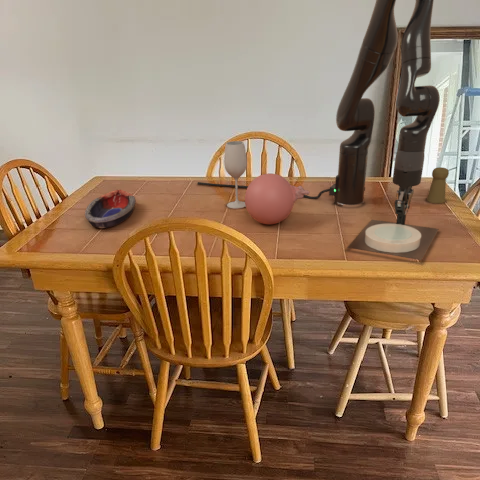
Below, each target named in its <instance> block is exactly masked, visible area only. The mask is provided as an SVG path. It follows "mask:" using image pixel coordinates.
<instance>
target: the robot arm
mask: <svg viewBox="0 0 480 480" xmlns="http://www.w3.org/2000/svg"><path fill="white" fill-rule="evenodd" d="M434 2H435V1H434V0H415V2H414V3H415V4H414V7H413V11H412V14H411V16H410V19H409V20H408V22H407V25H406V27H405V29H404V32H403V35H402V38H401V44H400V56H401V58H400V59H401V75H400V78H399V79H400V80H399V86H398V90H397V95H396V101H395V107H396V111H397V113H398V114H399V115H400V116H401V117H404V118H409V117H416V118H414V121H412V123H411V122H410V123H408V124H406V125H403V126H402V127H401V128H400V130H399V134H398V141H397V142H398V143H397V149H396V153H395V157H394V165H393V166H394V167H393V174H392V184H394V185H397V186H398V187H399V188H398V190H396V194H395V197H396V199H395V200H394V202H393V203H394V212H395V213H394V214H395V215H396V222H395V223H396V224H400V225H405V224H406V221H407V214H408V212H409V209H410V207H411V204H412V198H413V194H414V192H415V190H414V189H413V187H417V186H419V185H420V184H421V183H422V177H423V171H424V170H423V169H424V163H425V150H426V143H427V137H428V133H429V130H430V128H431V125H432V123H433V120H434V118H435V117H436V113H437V111H438V109H439V106H440V100H441V99H440V97H441V96H440V92H439V90H438V88H437V87H436V86H434V85H430V84H429V85H418V86H417V85H415V84H416V80H417V79H419V78H422V77H424V76H426V75H428V74H429V73H430V72H431V69H432V49H431V48H432V47H431V46H432V45H431V28H432V27H431V25H432V18H433V8H434ZM396 3H397V0H375V3H374V6H373V10H372V13H371V17H370V19H369V23H368V25H367V28H366V31H365V34H364V37H363V39H362V42H361V46H360V48H359V52H358V54H357V57H356V62H355V64H354V67H353V70H352V72H351V75H350V78H349V81H348V83H347V85H346V87H345V90H344V92H343V94H342V96H341V99H340V101H339V104H338V107H337V111H336V114H335V123H336V126H337V128H338V130H340V131H342V132H353V133H352V134H351V135H350V136H349V137H348V138H347V139H344V140H343V141H341V142H340V144H339V152H338V153H339V154H338V166H337V167H338V168H337V175H336V176H335V181H334V183H333V184H332V185H331V186H329V187H328V188H327V189H323V190H321V191H319V192H318V194H317V195H316V196H311V195H307V194H306V195H304V196H303V198H305V199H310V200H318V199H319V198H321V196H322V195H323V194H325V193H328V196H331V197H334V199H333V204H334V205H338V206H339V207H343V206H357V205H361V204H364V203H365V202H364V201H365V200H364V199H365V192H366V179H367V169H368V168H367V167H368V157H369V148H370V145H371V144H372V143H371V142H372V137H373V131H374V124H375V118H376V117H375V115H376V110H375V105H374V102H373V101H372V99H370V98H368V97H363V96H364V95H365V94H366V92H367V91H368V89H369V88H370V87H371V86H372V85H373V84H374V83H375V82H376V81H377V80H378V79H379V78H380V77H381V76H382V75H383V74H384V73H385V71H386V70H387V69H388V67H389V66H390V63H391V61H392V59H393V57H394V54H395V51H396V49H397V45H398V41H399V35H398V28H397V27H398V26H397V22H396V17H395V5H396ZM197 185H200V186H209V187H210V186H211V187H221V188H222V187H223V188H235V189H236V187H235V184H225V183H224V184H223V183H214V182H213V183H212V182H203V181H198V182H197ZM237 185H238V189H247V188H248V186H249V185H239V184H237Z"/></svg>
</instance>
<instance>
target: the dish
mask: <svg viewBox="0 0 480 480" xmlns="http://www.w3.org/2000/svg"><path fill="white" fill-rule="evenodd" d="M135 206H136V197H135V196H134V195H133V194H132V193H130V192H128V191H126V190H123V189H116V190H113V191H110V192H107V193H104V194H102V195H99V196H98V197H96V198H94V199H93V200H92V201H91V202H90V203H89V204H88V205H87V206H86V208H85V210H84V211H85V212H84V217H85V219H86V220H87V222H88V223H89V224H90V225H91V227H94V228H95V229H96V228H97V229H105V228H106V229H107V228H111V227H114V226H118V225H119V224H121V223H122V222H125V221H126V220H127V219H128V218H129V217H130V216H131V215H132V214H133V213H134V210H135Z"/></svg>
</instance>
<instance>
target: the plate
mask: <svg viewBox="0 0 480 480" xmlns="http://www.w3.org/2000/svg"><path fill="white" fill-rule="evenodd" d="M420 241H421V233H420V232H419V231H418V230H416V229H415V228H412V227H409V226H406V225H400V224H378V225H374V226H371V227H369V228H367V229H366V232H365V243H366V244H367V245H368V246H369V247H371V248H373V249H376V250H379V251H384V252H391V253H402V252H409V251H413V250H415V249H417V248H418V247H419V246H420Z"/></svg>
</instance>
